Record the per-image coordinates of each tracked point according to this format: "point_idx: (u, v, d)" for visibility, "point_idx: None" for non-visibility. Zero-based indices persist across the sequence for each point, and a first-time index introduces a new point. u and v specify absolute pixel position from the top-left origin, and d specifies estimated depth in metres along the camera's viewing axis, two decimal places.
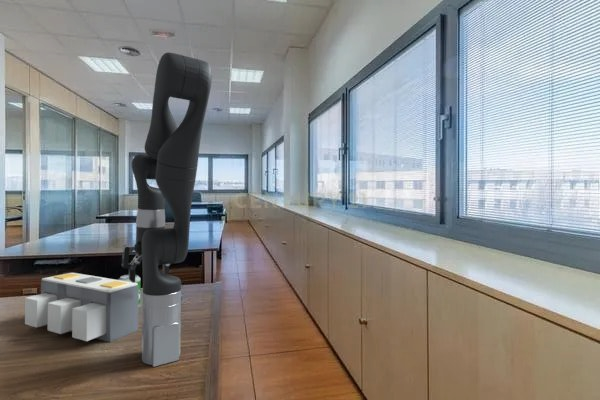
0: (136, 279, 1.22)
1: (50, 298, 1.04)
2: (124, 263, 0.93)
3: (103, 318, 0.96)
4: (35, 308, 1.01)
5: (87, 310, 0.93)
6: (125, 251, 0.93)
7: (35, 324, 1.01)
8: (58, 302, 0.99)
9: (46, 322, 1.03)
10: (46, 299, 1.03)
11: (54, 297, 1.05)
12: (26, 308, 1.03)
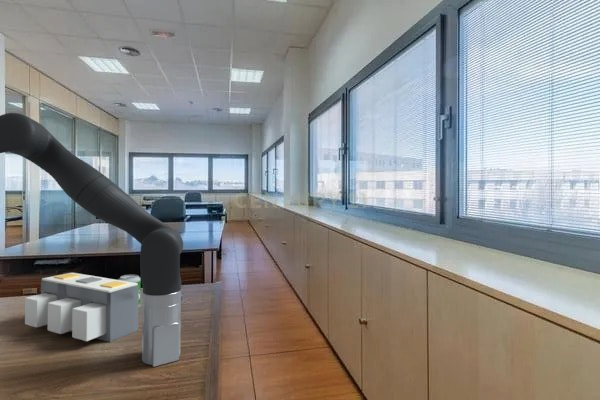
0: (136, 279, 1.22)
1: (50, 298, 1.04)
2: None
3: (103, 318, 0.96)
4: (35, 308, 1.01)
5: (87, 310, 0.93)
6: None
7: (35, 324, 1.01)
8: (58, 302, 0.99)
9: (46, 322, 1.03)
10: (46, 299, 1.03)
11: (54, 297, 1.05)
12: (26, 308, 1.03)
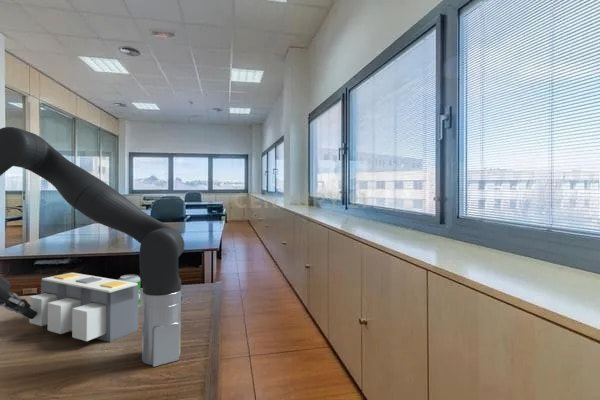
0: (136, 279, 1.22)
1: (54, 297, 1.05)
2: None
3: (103, 318, 0.96)
4: (40, 307, 1.02)
5: (87, 310, 0.93)
6: (26, 301, 0.96)
7: (39, 323, 1.02)
8: (58, 302, 0.99)
9: None
10: (50, 298, 1.04)
11: None
12: (31, 307, 1.04)
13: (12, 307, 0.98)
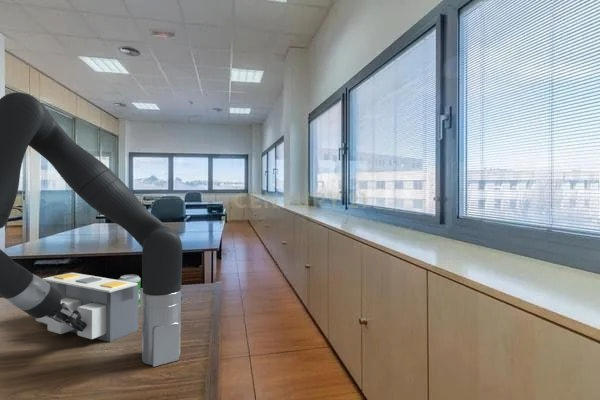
0: (136, 279, 1.22)
1: None
2: None
3: None
4: None
5: (92, 308, 0.94)
6: (78, 312, 0.87)
7: (46, 321, 1.04)
8: None
9: None
10: None
11: None
12: None
13: None
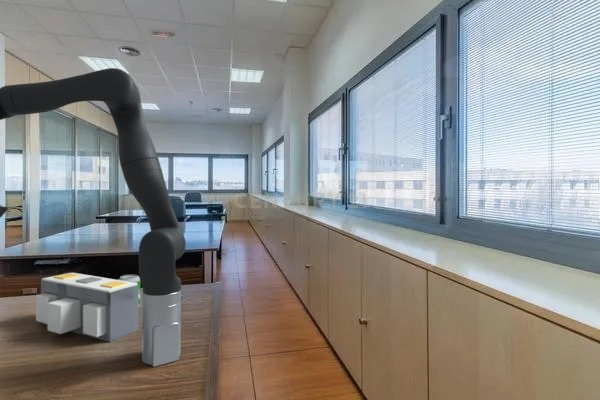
0: (136, 279, 1.22)
1: None
2: None
3: None
4: (46, 305, 1.04)
5: (97, 307, 0.96)
6: None
7: (46, 321, 1.04)
8: (58, 302, 0.99)
9: None
10: (56, 296, 1.06)
11: None
12: (37, 305, 1.06)
13: None
